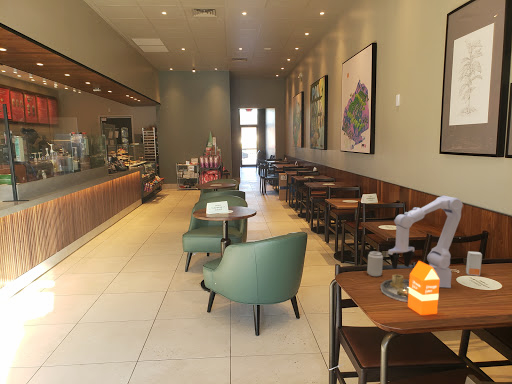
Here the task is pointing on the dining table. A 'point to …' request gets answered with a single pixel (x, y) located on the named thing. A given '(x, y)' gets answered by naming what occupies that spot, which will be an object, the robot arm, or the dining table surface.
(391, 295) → the carrier
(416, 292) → the orange juice
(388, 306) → the dining table surface
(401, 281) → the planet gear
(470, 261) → the skincare box
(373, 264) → the can
